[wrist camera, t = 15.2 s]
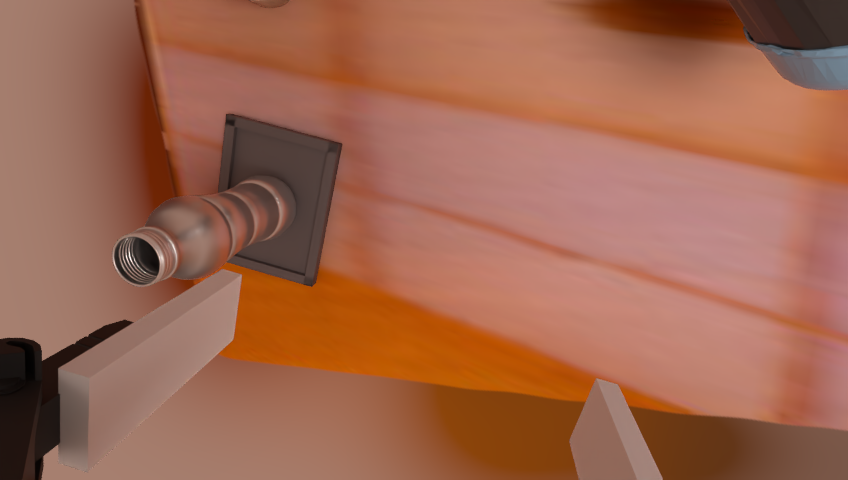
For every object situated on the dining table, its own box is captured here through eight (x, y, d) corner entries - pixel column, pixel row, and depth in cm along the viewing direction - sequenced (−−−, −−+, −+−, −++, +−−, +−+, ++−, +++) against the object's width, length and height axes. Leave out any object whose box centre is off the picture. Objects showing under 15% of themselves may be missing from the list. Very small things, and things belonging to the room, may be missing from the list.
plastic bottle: (237, 214, 50) (80, 279, 31) (259, 160, 48) (106, 192, 29) (288, 243, 50) (164, 325, 31) (312, 190, 48) (196, 242, 29)
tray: (232, 114, 47) (226, 114, 46) (342, 143, 47) (338, 144, 45) (216, 254, 52) (210, 257, 51) (315, 282, 51) (311, 286, 50)
